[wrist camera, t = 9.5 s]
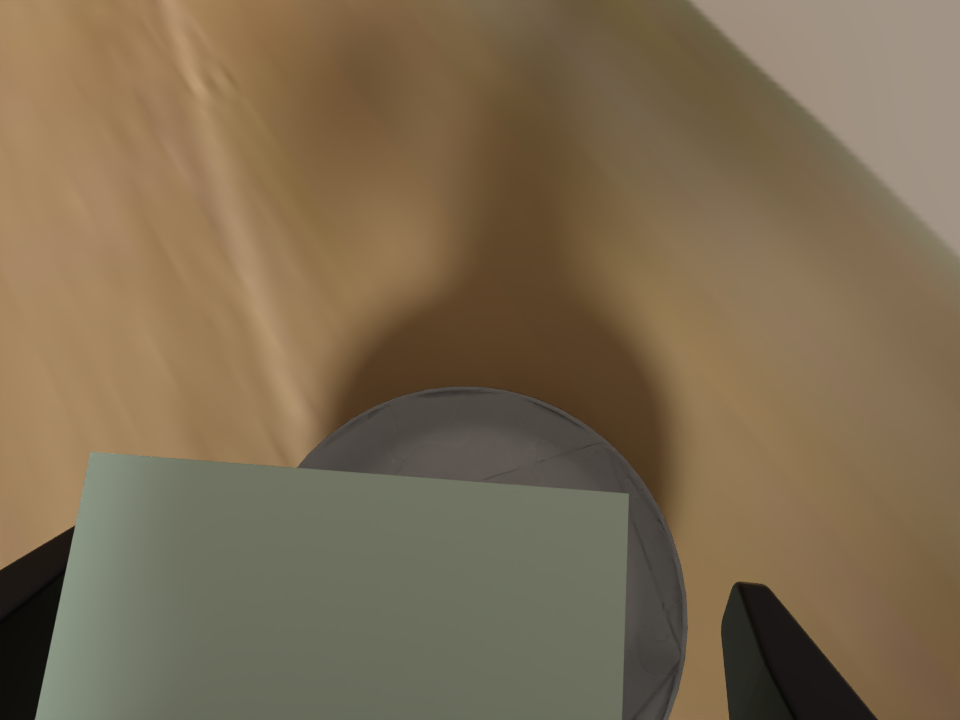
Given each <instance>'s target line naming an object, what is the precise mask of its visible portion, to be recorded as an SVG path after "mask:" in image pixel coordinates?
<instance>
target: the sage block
mask: <svg viewBox="0 0 960 720" xmlns="http://www.w3.org/2000/svg"><path fill="white" fill-rule="evenodd" d="M628 508H629V494H627V493H614V492H602V491H589V490H576V489H563V488H550V487H537V486H524V485H511V484H498V483H485V482H473V481H460V480H447V479H434V478H421V477H408V476H395V475H382V474H369V473H357V472H344V471H331V470H318V469H305V468H292V467H279V466H266V465H253V464H241V463H228V462H215V461H202V460H189V459H176V458H163V457H150V456H137V455H125V454H112V453H99V452H90V457H89V462H88V467H87V472H86V476H85V481H84V486H83V491H82V496H81V500H80V505H79V510H78V515H77V520H76V525H75V529H74V534H73V539H72V544H71V549H70V554H69V558H68V563H67V568H66V573H65V578H64V583H63V587H62V592H61V597H60V602H59V607H58V612H57V616H56V621H55V626H54V631H53V636H52V640H51V645H50V650H49V655H48V660H47V665H46V669H45V674H44V679H43V684H42V689H41V694H40V698H39V703H38V708H37V713H36V718H35V720H622V702H623V670H624V637H625V605H626V573H627V540H628Z"/></svg>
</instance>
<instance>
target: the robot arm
mask: <svg viewBox="0 0 960 720" xmlns="http://www.w3.org/2000/svg"><path fill="white" fill-rule="evenodd" d="M74 529H75V526H73V527H72V528H70V529H68V530H67V531H65V532H63V533H62V534H60V535H58V536H57V537H55V538H53V539H52V540H50V541H48V542H47V543H45V544H43V545H41V546H40V547H38V548H36V549H35V550H33V551H31V552H30V553H28V554H26V555H25V556H23V557H21V558H20V559H18V560H16V561H15V562H13V563H11V564H10V565H8V566H6V567H5V568H3V569H1V570H0V720H35V718H36V713H37V708H38V703H39V698H40V694H41V689H42V684H43V679H44V674H45V669H46V665H47V660H48V655H49V650H50V645H51V640H52V636H53V631H54V626H55V621H56V616H57V612H58V607H59V602H60V597H61V592H62V587H63V583H64V578H65V573H66V568H67V563H68V558H69V554H70V549H71V544H72V539H73V534H74ZM721 636H722V647H723V657H724V668H725V678H726V688H727V699H728V709H729V719H730V720H878V719H877V718H876V717H875V715H874V714H873V713H872V712H871V711H870V709H869V708H868V707H867V706H866V705H865V703H864V702H863V701H862V700H861V699H860V697H859V696H858V695H857V694H856V692H855V691H854V690H853V689H852V688H851V686H850V685H849V684H848V683H847V682H846V680H845V679H844V678H843V677H842V676H841V674H840V673H839V672H838V671H837V669H836V668H835V667H834V666H833V665H832V663H831V662H830V661H829V660H828V659H827V657H826V656H825V655H824V654H823V653H822V651H821V650H820V649H819V648H818V646H817V645H816V644H815V643H814V642H813V640H812V639H811V638H810V637H809V636H808V634H807V633H806V632H805V631H804V630H803V628H802V627H801V626H800V625H799V623H798V622H797V621H796V620H795V619H794V617H793V616H792V615H791V614H790V613H789V611H788V610H787V609H786V608H785V607H784V605H783V604H782V603H781V602H780V600H779V599H778V598H777V597H776V596H775V594H774V593H773V592H772V591H771V590H770V589H769V588H768V587H767V586H766V585H764V584H759V583H749V582H737V583H735V584H734V585H733V587H732V590H731V593H730V596H729V599H728V603H727V606H726V609H725V612H724V615H723V619H722V626H721Z"/></svg>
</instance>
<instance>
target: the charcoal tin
mask: <svg viewBox="0 0 960 720" xmlns="http://www.w3.org/2000/svg"><path fill="white" fill-rule="evenodd" d="M297 468H305V469H318V470H331V471H344V472H357V473H369V474H382V475H395V476H408V477H421V478H434V479H447V480H460V481H473V482H485V483H498V484H511V485H524V486H537V487H550V488H563V489H576V490H589V491H602V492H614V493H627V494H629V508H628V540H627V573H626V605H625V637H624V670H623V702H622V720H668V718H669V715H670V712H671V710H672V707H673V704H674V701H675V698H676V696H677V693H678V689H679V685H680V680H681V676H682V671H683V666H684V662H685V653H686V641H687V629H688V625H687V602H686V592H685V586H684V580H683V574H682V568H681V564H680V560H679V557H678V554H677V550H676V547H675V544H674V541H673V537H672V535H671V532H670V530H669V528H668V526H667V523H666V521H665V519H664V517H663V514H662V512H661V510H660V508H659V506H658V504H657V503H656V501H655V499H654V498H653V496H652V494H651V493H650V491H649V489H648V488H647V486H646V484H645V483H644V482H643V480H642V479H641V478H640V476H639V475H638V474H637V473H636V471H635V470H634V469H633V468H632V466H631V465H630V464H629V462H628V461H627V460H626V459H625V458H624V457H623V456H622V455H621V454H620V453H619V452H618V451H617V450H616V449H615V448H614V447H613V446H612V445H611V444H610V443H609V442H608V441H607V440H606V439H604V438H603V437H602V436H601V435H599V434H598V433H597V432H595V431H594V430H593V429H591V428H590V427H589V426H587V425H586V424H585V423H584V422H582V421H580V420H578V419H577V418H575V417H573V416H572V415H570V414H568V413H566V412H565V411H563V410H561V409H559V408H557V407H555V406H552V405H550V404H548V403H545V402H543V401H541V400H538V399H536V398H533V397H530V396H526V395H522V394H519V393H515V392H511V391H508V390H501V389H494V388H487V387H475V386H451V387H443V388H435V389H426V390H422V391H418V392H415V393H411V394H407V395H403V396H399V397H397V398H394V399H392V400H389V401H387V402H384V403H381V404H379V405H376V406H374V407H372V408H371V409H369V410H367V411H365V412H363V413H361V414H360V415H358V416H356V417H354V418H352V419H351V420H349V421H348V422H346V423H345V424H344V425H342V426H341V427H340V428H338V429H337V430H335V431H334V432H333V433H331V434H330V435H329V436H327V437H326V438H325V439H324V440H323V441H322V442H321V443H320V444H319V445H318V446H317V447H316V448H315V449H314V450H312V451H311V452H310V453H309V454H308V455H307V457H306V458H305V459H304V460H303V461H302V462H301V464H300V465H299V466H298V467H297Z"/></svg>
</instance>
